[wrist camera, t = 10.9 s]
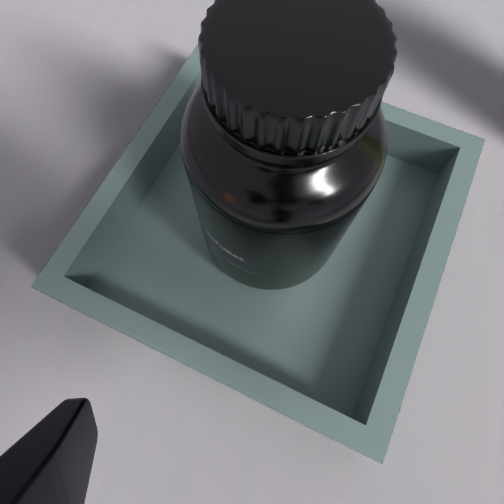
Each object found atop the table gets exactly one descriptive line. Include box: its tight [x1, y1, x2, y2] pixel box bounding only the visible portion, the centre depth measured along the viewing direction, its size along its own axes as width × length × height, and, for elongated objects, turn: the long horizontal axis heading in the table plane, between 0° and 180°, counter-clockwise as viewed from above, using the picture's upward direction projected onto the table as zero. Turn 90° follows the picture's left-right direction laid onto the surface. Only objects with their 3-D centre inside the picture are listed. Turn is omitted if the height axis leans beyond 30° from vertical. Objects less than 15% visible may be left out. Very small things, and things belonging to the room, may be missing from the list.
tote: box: [31, 45, 485, 464], centre depth 20 cm, size 16×16×4 cm
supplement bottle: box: [180, 0, 397, 290], centre depth 15 cm, size 7×7×12 cm
